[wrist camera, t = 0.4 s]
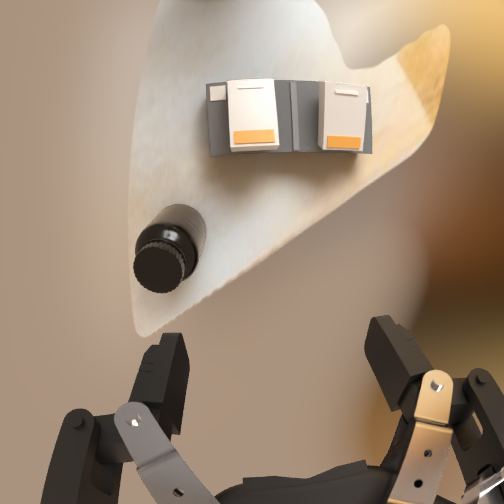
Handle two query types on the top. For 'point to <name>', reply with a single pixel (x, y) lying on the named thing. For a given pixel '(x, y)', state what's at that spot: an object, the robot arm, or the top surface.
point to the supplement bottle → (169, 248)
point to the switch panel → (279, 118)
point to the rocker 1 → (252, 115)
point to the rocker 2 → (341, 116)
